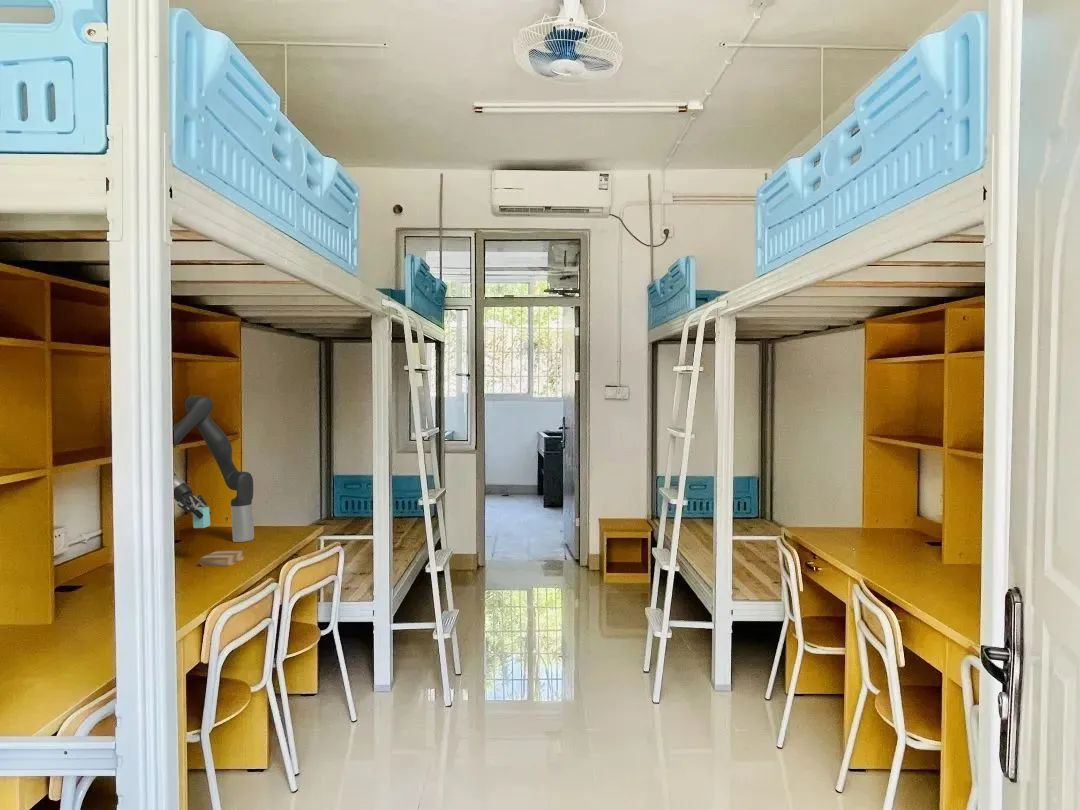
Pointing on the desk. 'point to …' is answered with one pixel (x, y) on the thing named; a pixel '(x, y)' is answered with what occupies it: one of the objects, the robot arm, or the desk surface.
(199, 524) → the teal block
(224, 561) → the brown notched block
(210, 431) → the robot arm
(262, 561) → the desk surface
